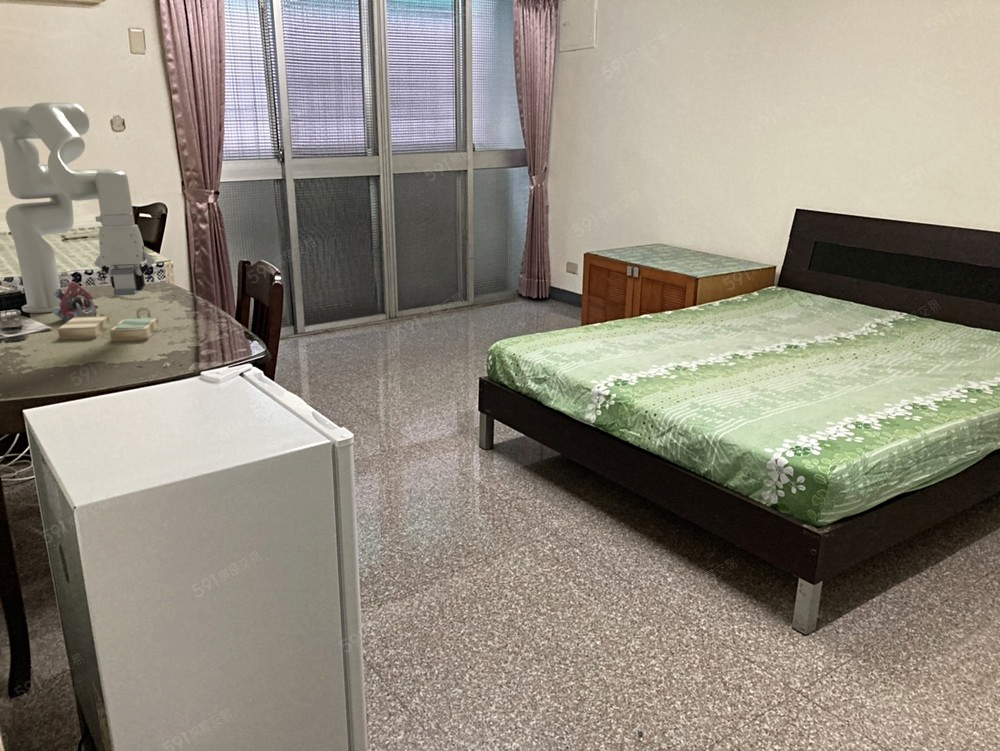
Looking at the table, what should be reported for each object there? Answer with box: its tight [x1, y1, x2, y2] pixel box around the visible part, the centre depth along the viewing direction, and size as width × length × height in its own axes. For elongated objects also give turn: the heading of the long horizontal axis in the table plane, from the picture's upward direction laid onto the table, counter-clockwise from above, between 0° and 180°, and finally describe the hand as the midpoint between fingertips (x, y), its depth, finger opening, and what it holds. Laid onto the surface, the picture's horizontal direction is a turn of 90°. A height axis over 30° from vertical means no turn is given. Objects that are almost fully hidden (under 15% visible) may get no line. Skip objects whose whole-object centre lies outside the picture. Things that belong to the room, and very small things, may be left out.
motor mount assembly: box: [51, 281, 100, 323], centre depth 221 cm, size 11×11×12 cm
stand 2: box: [109, 317, 160, 342], centre depth 205 cm, size 12×9×3 cm
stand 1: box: [57, 315, 111, 341], centre depth 207 cm, size 12×9×3 cm
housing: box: [110, 265, 140, 297], centre depth 201 cm, size 9×5×7 cm, turn 10°
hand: (129, 289), depth 202 cm, fingers closed on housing, 5 cm apart
